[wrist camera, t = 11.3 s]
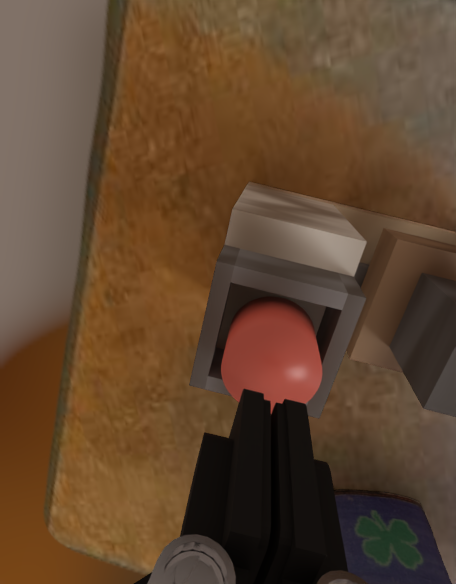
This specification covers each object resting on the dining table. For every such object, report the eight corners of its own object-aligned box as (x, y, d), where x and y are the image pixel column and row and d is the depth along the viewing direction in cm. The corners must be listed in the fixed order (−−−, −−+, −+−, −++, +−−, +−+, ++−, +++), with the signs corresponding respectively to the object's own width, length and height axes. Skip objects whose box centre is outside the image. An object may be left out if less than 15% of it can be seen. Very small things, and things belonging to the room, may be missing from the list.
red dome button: (326, 308, 16) (336, 341, 13) (300, 380, 17) (305, 423, 15) (240, 287, 16) (233, 316, 13) (221, 360, 17) (212, 399, 15)
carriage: (493, 254, 24) (606, 314, 16) (439, 361, 27) (511, 458, 19) (383, 227, 25) (439, 273, 16) (342, 337, 28) (371, 422, 19)
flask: (319, 506, 37) (336, 639, 27) (323, 483, 36) (342, 613, 26) (419, 520, 37) (473, 661, 27) (426, 496, 36) (486, 635, 26)
